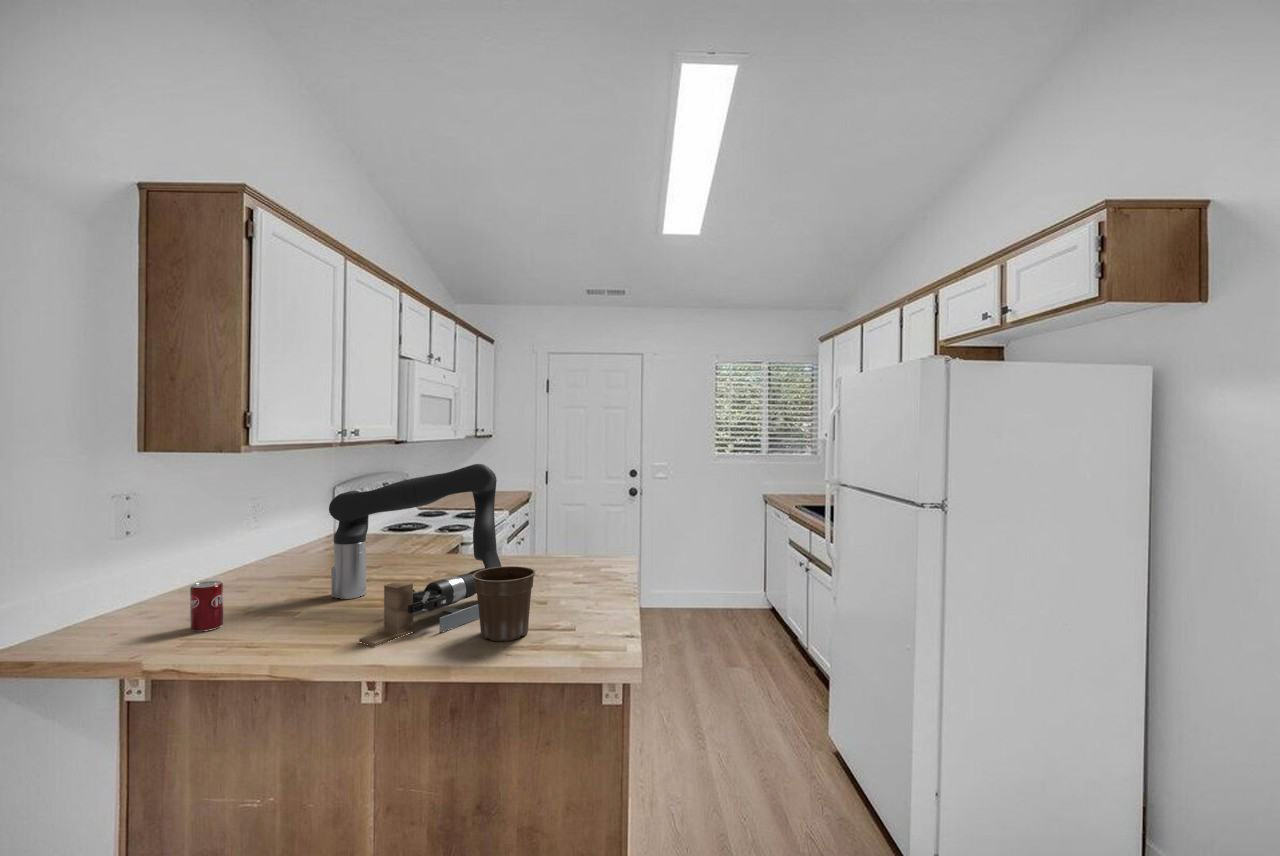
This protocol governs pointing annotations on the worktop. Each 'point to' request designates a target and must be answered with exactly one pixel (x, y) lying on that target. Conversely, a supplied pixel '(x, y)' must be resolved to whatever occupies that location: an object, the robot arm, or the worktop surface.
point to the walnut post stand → (394, 614)
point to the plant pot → (504, 601)
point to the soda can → (206, 605)
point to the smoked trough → (457, 617)
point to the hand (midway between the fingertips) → (397, 607)
